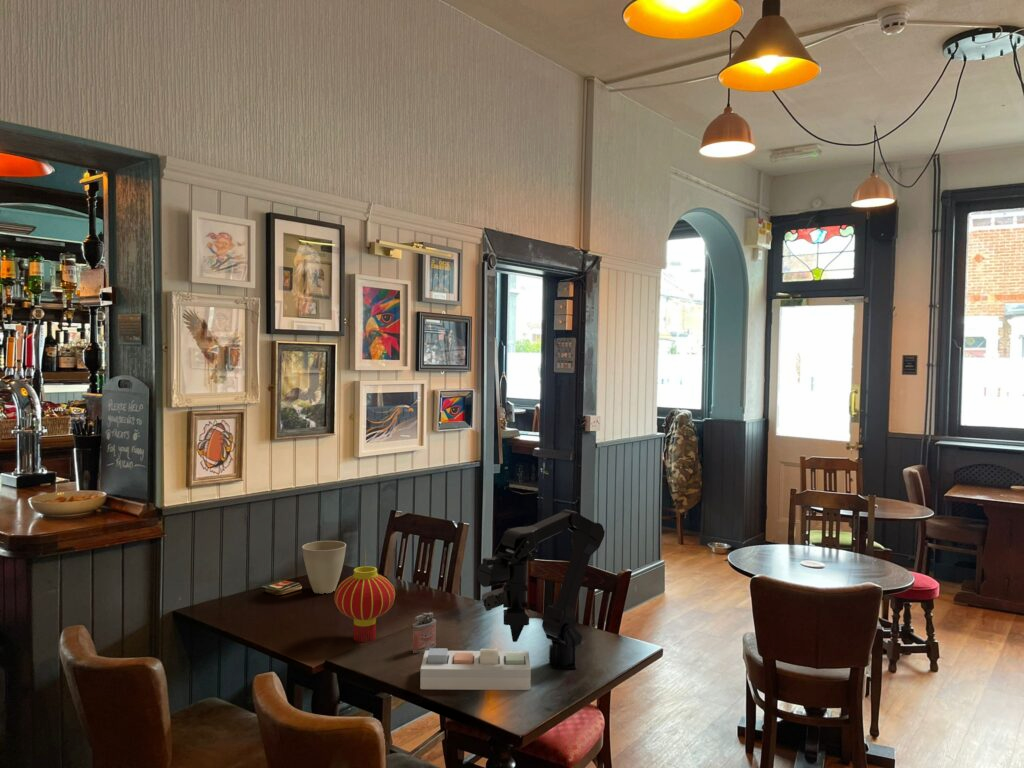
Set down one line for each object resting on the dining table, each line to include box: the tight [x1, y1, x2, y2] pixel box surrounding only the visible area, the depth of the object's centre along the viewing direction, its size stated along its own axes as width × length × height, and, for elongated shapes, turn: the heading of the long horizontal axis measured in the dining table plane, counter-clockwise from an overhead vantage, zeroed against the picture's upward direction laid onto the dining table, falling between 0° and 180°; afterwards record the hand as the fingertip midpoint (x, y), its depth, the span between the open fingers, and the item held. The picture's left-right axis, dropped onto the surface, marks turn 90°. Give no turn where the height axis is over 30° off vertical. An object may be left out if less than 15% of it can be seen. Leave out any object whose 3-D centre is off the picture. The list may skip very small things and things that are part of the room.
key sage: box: [506, 653, 524, 665], centre depth 191 cm, size 5×5×2 cm
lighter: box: [411, 612, 437, 654], centre depth 211 cm, size 8×3×10 cm, turn 141°
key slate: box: [428, 647, 449, 664], centre depth 191 cm, size 5×5×2 cm
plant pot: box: [301, 540, 347, 595], centre depth 263 cm, size 15×15×16 cm
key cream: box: [479, 648, 499, 664], centre depth 191 cm, size 5×5×2 cm
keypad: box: [419, 650, 532, 691], centre depth 191 cm, size 27×12×5 cm, turn 91°
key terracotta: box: [454, 653, 473, 664], centre depth 191 cm, size 5×5×2 cm
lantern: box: [334, 550, 396, 643], centre depth 218 cm, size 17×17×30 cm
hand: (514, 641), depth 191 cm, fingers closed
